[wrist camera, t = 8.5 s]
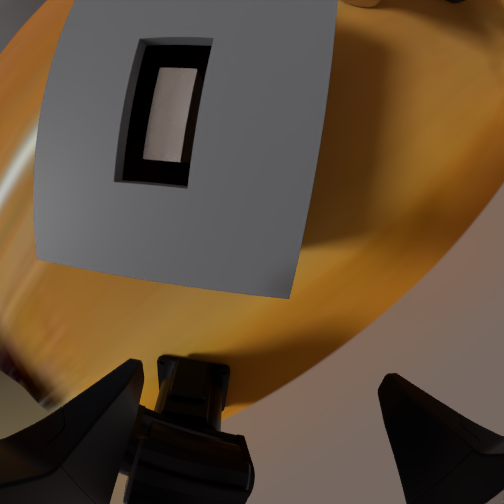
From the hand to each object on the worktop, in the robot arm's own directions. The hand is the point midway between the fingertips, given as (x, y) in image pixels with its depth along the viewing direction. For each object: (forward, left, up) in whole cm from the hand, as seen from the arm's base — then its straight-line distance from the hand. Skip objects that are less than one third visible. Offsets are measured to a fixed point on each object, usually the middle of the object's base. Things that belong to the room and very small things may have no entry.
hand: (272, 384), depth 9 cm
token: (+9, +6, -12) cm, 16 cm away
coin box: (+9, +6, -12) cm, 16 cm away
